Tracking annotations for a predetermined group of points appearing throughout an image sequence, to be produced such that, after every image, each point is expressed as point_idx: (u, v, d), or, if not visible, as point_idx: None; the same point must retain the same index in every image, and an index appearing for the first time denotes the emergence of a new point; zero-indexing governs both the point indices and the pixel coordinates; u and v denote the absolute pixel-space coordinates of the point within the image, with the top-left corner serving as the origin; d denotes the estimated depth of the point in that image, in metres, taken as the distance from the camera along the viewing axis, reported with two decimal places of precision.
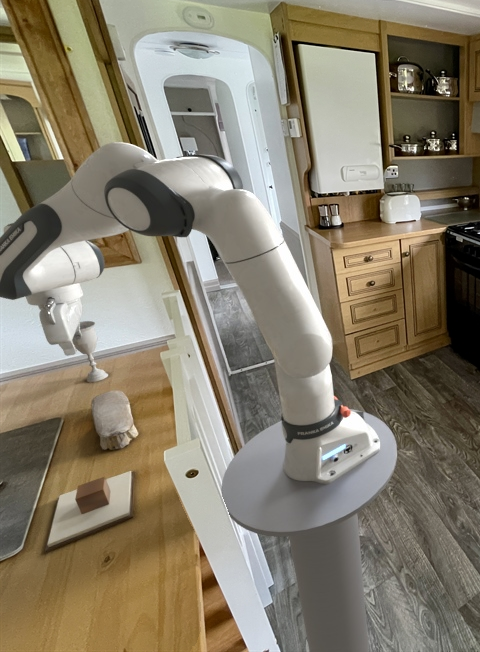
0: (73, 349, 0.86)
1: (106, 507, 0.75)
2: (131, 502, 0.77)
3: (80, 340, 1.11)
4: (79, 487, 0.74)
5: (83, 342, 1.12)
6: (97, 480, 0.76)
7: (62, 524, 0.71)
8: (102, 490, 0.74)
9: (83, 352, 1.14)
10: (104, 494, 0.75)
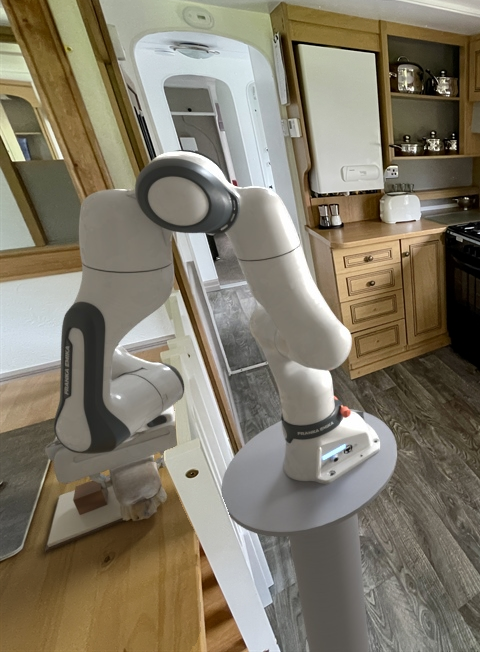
0: None
1: (106, 507, 0.75)
2: None
3: None
4: (77, 488, 0.74)
5: None
6: None
7: (62, 524, 0.71)
8: (100, 491, 0.74)
9: None
10: (102, 495, 0.74)
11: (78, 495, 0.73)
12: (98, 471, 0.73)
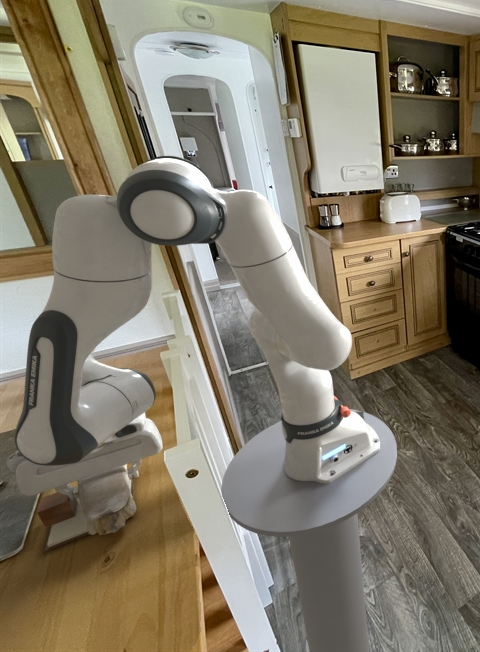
0: None
1: None
2: None
3: None
4: (43, 499, 0.72)
5: None
6: None
7: (62, 524, 0.71)
8: (66, 502, 0.71)
9: None
10: (69, 506, 0.72)
11: (43, 507, 0.70)
12: (64, 483, 0.70)
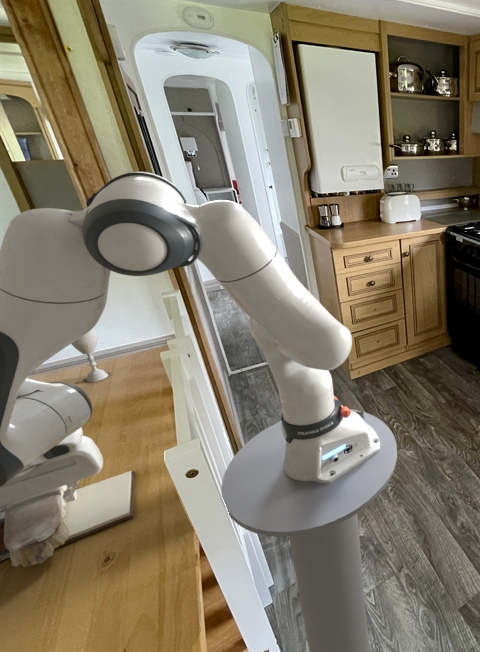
0: None
1: (106, 507, 0.75)
2: (131, 502, 0.77)
3: (80, 340, 1.11)
4: None
5: (83, 342, 1.12)
6: None
7: None
8: None
9: (83, 352, 1.14)
10: None
11: None
12: None
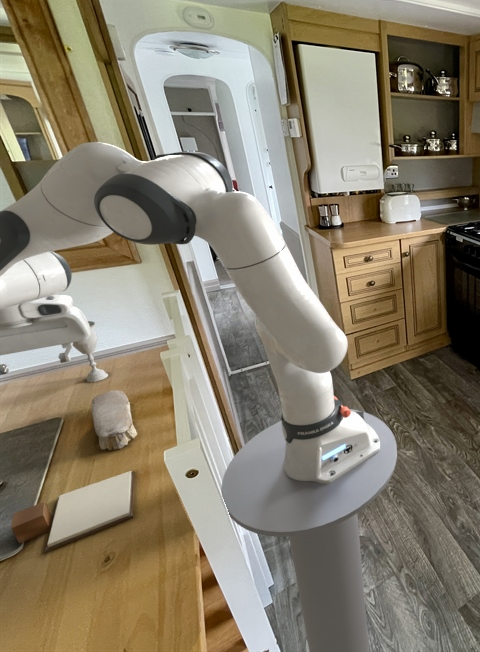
0: None
1: (106, 507, 0.75)
2: (131, 502, 0.77)
3: None
4: (15, 515, 0.70)
5: (83, 342, 1.12)
6: (35, 506, 0.71)
7: (62, 524, 0.71)
8: (42, 516, 0.70)
9: (83, 352, 1.14)
10: (45, 520, 0.70)
11: (17, 522, 0.68)
12: None
